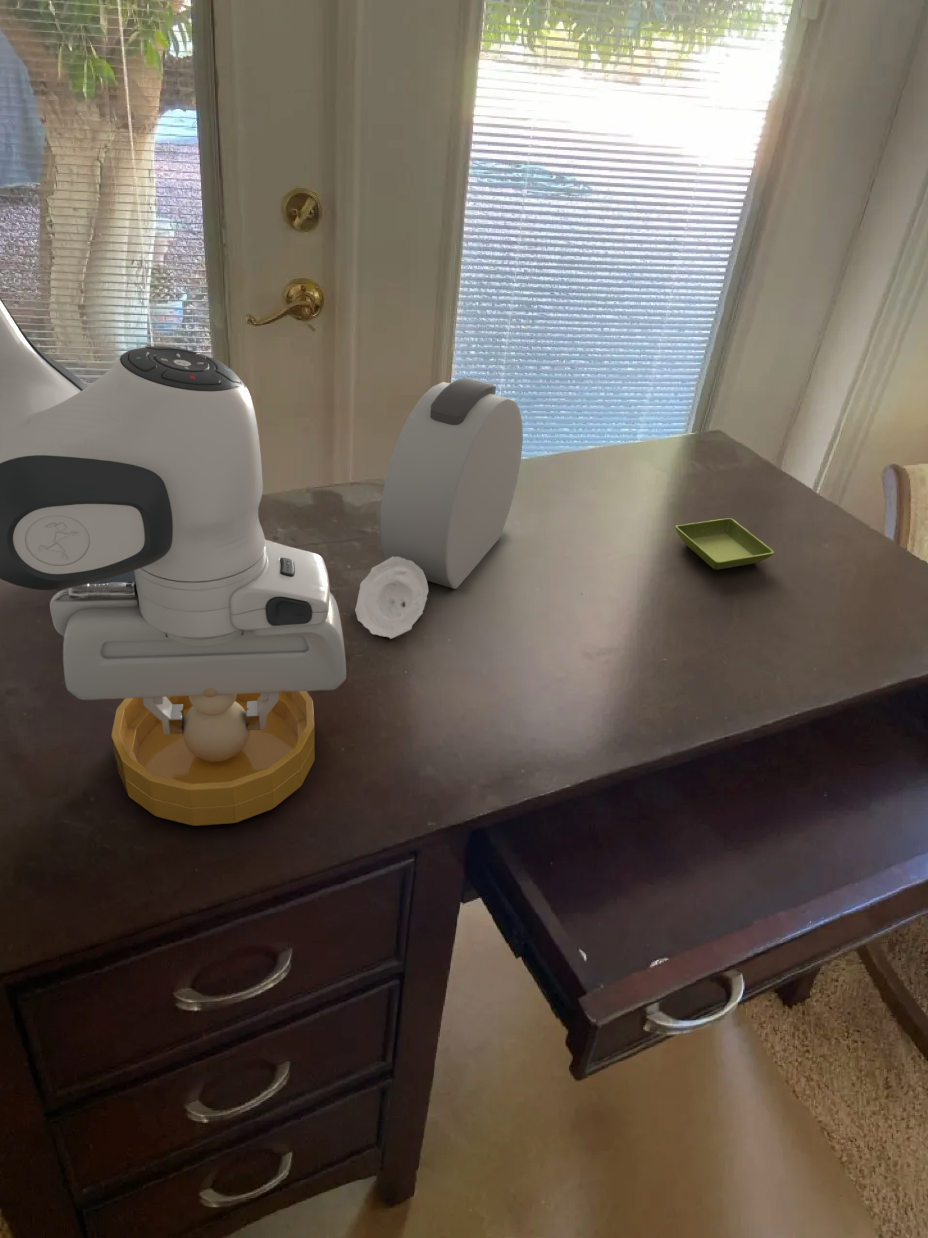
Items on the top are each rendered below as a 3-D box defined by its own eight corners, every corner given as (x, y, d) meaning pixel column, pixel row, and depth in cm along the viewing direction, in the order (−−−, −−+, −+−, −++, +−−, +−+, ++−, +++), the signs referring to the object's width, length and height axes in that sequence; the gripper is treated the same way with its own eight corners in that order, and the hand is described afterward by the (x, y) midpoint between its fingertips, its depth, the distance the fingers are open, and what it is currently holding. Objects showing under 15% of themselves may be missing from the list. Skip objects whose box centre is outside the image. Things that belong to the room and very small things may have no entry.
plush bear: (182, 777, 69) (171, 693, 64) (187, 731, 74) (177, 649, 69) (251, 773, 70) (245, 690, 65) (252, 728, 75) (246, 647, 70)
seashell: (405, 650, 92) (456, 617, 87) (367, 652, 88) (418, 617, 83) (382, 582, 94) (431, 546, 90) (344, 580, 90) (393, 542, 86)
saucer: (727, 531, 112) (731, 516, 111) (771, 567, 105) (776, 552, 104) (669, 540, 108) (673, 525, 107) (712, 578, 102) (716, 563, 101)
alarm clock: (457, 505, 111) (472, 349, 99) (513, 521, 109) (535, 364, 97) (376, 587, 94) (383, 411, 83) (439, 608, 92) (456, 431, 81)
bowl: (107, 837, 65) (98, 795, 62) (133, 700, 77) (126, 659, 74) (317, 823, 68) (317, 782, 65) (310, 692, 80) (310, 653, 77)
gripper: (34, 611, 58) (69, 762, 66) (350, 604, 62) (346, 748, 70) (53, 559, 63) (84, 706, 71) (344, 556, 67) (342, 695, 75)
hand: (216, 726), depth 70 cm, fingers closed on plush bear, 5 cm apart
